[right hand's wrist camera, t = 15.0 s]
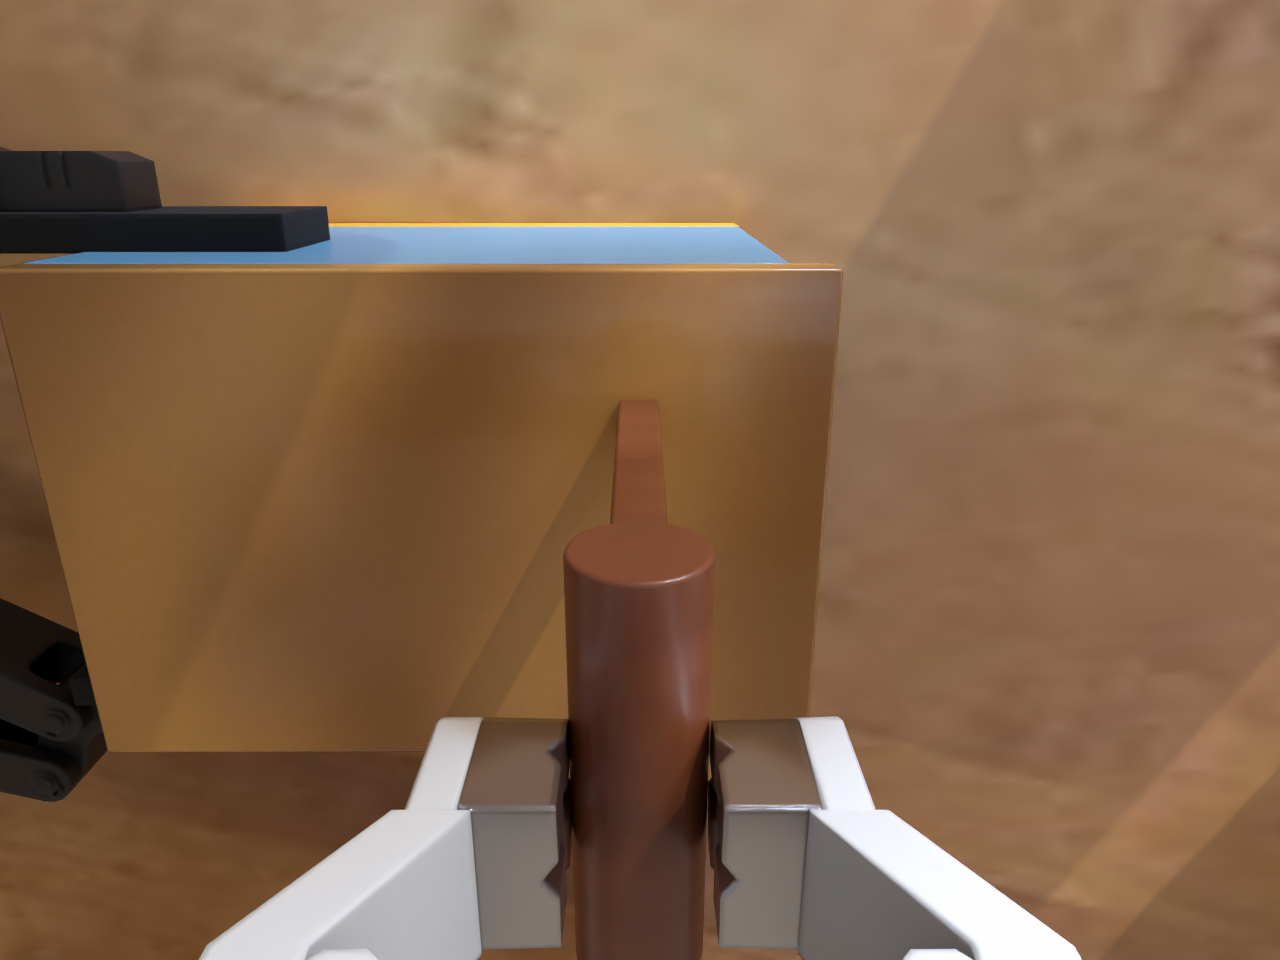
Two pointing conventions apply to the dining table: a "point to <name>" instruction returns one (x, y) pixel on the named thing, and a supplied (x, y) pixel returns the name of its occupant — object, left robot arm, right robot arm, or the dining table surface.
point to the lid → (446, 519)
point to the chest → (486, 246)
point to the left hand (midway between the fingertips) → (337, 463)
